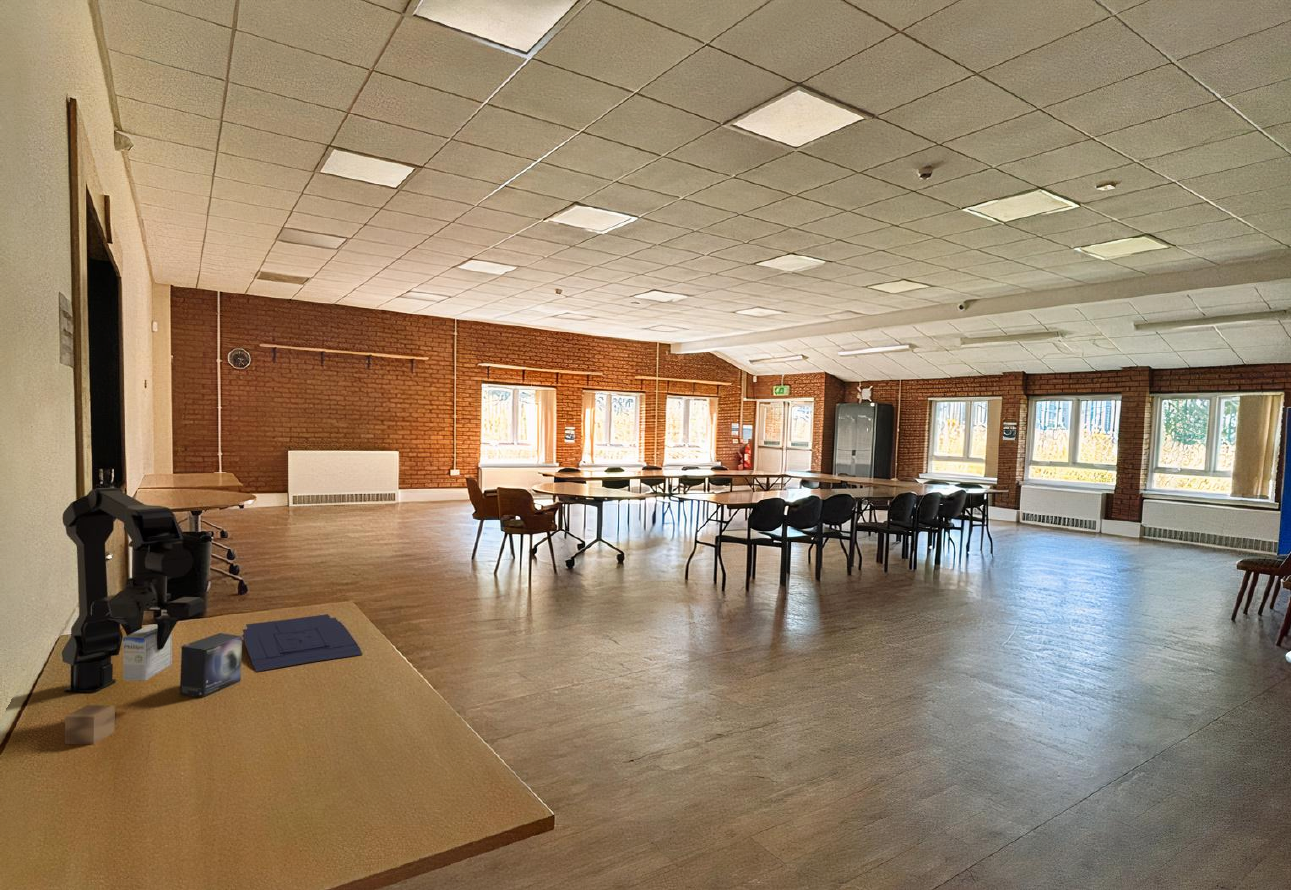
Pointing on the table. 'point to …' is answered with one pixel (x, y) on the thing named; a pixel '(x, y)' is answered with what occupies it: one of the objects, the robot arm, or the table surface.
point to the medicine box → (145, 654)
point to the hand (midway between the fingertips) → (148, 649)
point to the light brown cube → (89, 724)
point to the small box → (210, 664)
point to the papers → (297, 641)
